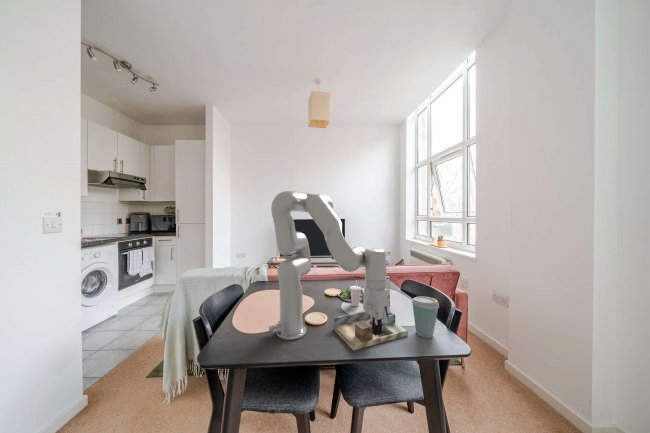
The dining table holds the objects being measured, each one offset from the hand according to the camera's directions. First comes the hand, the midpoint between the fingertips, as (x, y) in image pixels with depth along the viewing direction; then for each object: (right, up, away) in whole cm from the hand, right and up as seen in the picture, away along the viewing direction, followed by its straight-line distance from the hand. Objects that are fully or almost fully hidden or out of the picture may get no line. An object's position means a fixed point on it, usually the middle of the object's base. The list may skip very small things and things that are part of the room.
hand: (377, 333), depth 85 cm
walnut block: (-4, -5, +7) cm, 10 cm away
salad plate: (-2, -7, +57) cm, 57 cm away
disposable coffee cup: (+23, -7, +14) cm, 28 cm away
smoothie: (-2, -6, +44) cm, 45 cm away
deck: (0, -7, +15) cm, 16 cm away
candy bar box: (+11, -7, +39) cm, 41 cm away
